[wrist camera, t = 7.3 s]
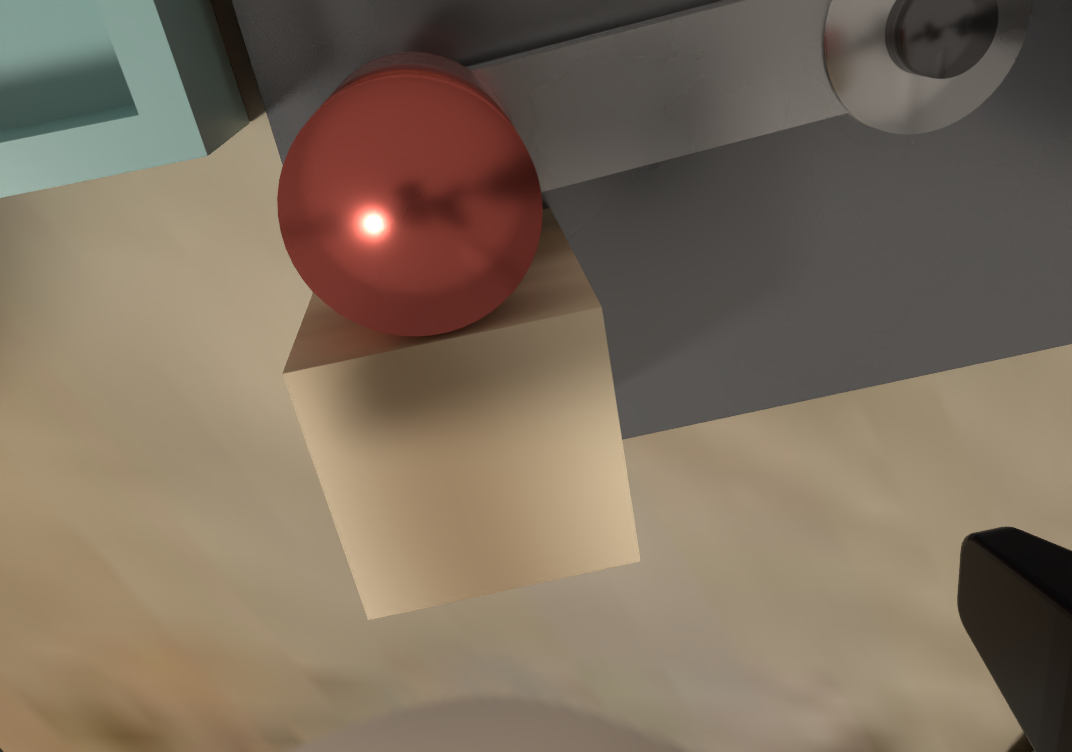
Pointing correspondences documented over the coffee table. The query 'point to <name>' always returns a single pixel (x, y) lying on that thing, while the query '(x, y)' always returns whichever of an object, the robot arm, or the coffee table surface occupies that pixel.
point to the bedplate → (762, 215)
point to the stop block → (470, 443)
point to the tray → (110, 89)
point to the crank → (593, 133)
